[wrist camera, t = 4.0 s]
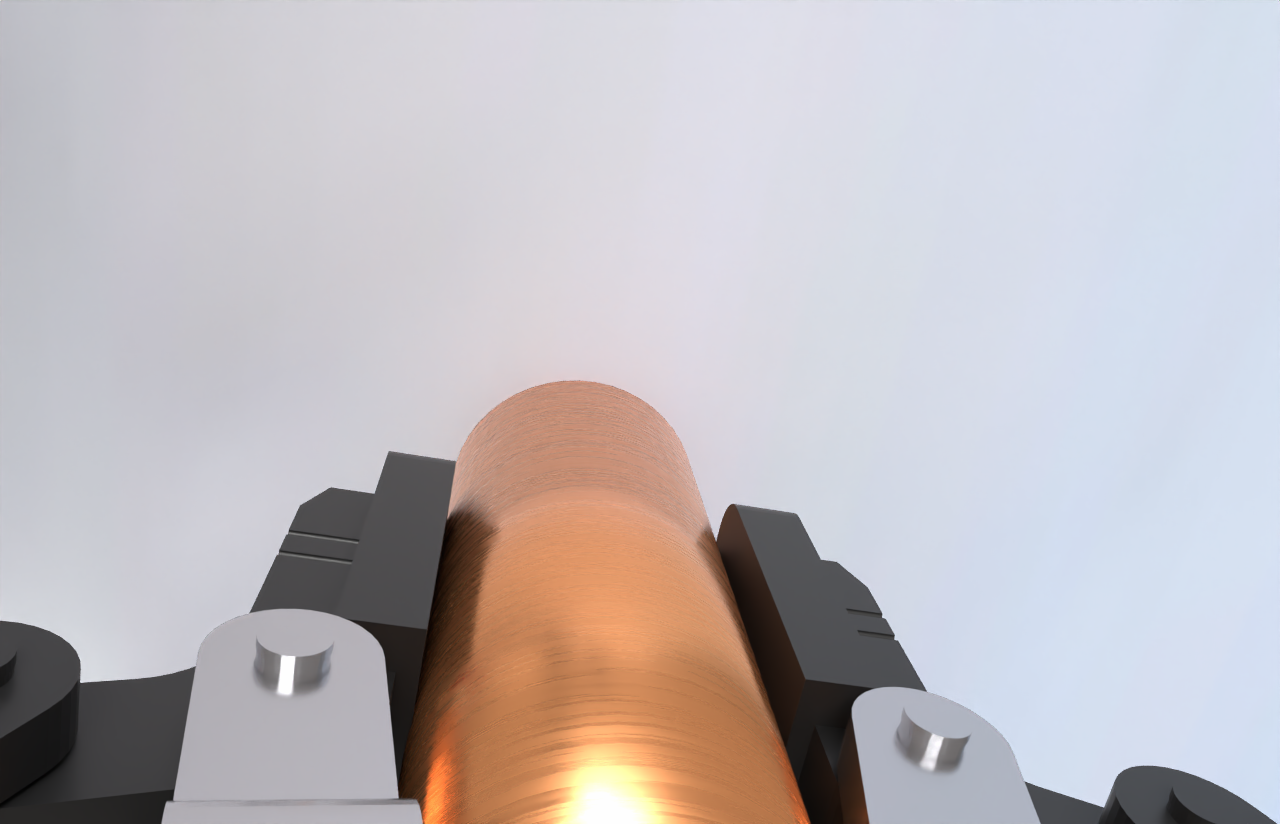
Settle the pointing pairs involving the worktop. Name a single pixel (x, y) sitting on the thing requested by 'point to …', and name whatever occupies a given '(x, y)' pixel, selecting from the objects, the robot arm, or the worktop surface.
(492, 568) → the lock pin
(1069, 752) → the worktop surface
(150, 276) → the worktop surface
